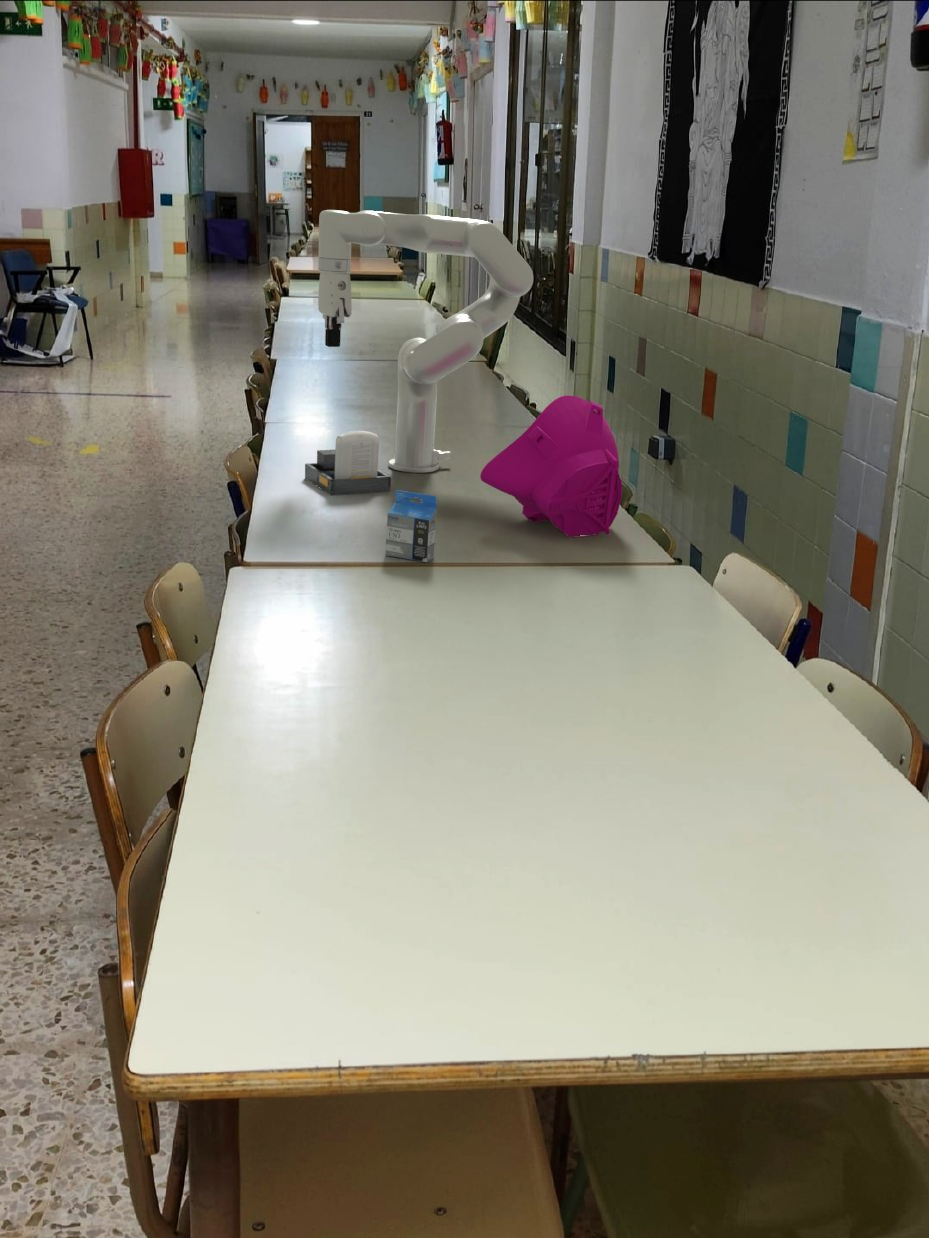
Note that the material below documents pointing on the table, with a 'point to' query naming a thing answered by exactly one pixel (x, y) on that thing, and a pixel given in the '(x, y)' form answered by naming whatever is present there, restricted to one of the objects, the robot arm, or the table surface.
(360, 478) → the tray
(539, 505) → the face mask
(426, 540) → the label tape box
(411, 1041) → the table surface
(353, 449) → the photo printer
